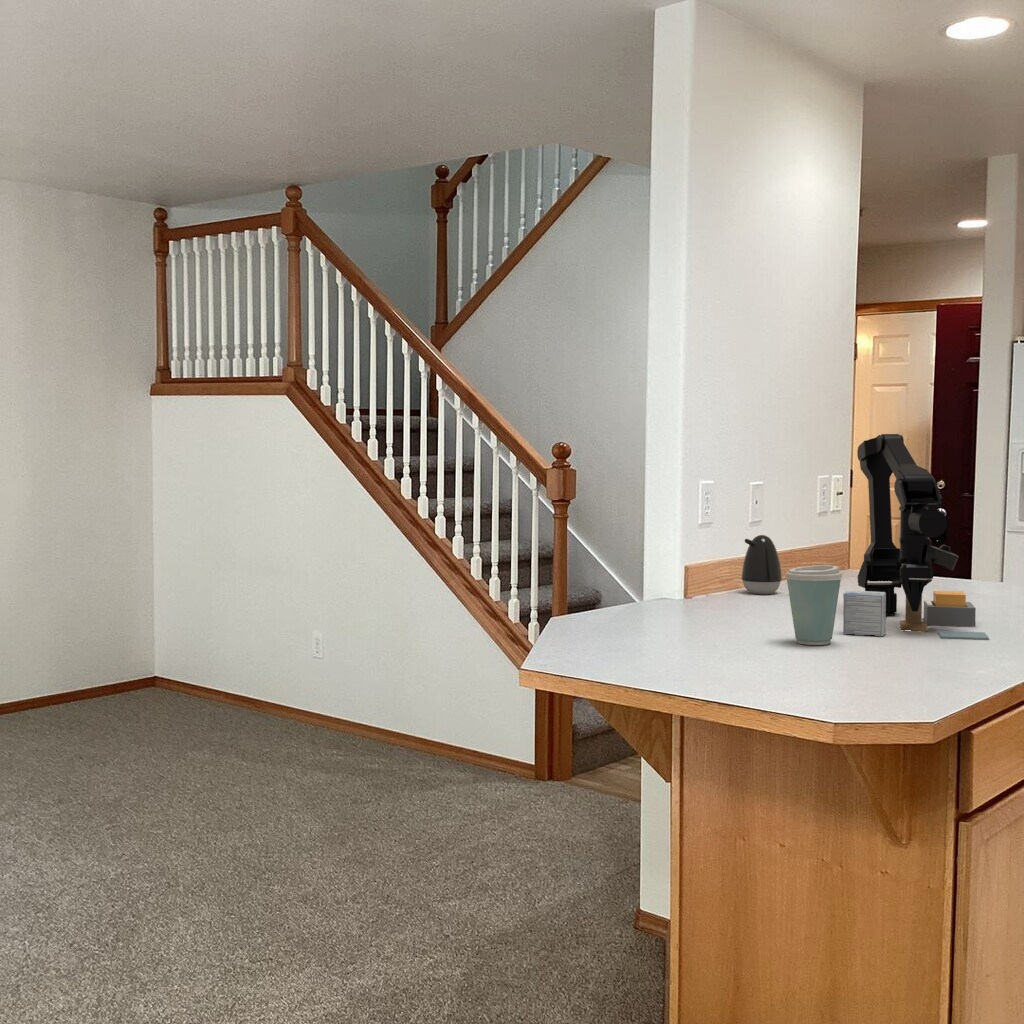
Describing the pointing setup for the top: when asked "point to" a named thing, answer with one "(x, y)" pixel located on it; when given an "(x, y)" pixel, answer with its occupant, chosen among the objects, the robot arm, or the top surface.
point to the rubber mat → (963, 635)
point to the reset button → (949, 598)
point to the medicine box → (864, 613)
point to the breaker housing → (949, 615)
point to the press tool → (913, 619)
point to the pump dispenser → (761, 566)
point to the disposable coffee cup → (814, 602)
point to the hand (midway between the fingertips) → (913, 608)
